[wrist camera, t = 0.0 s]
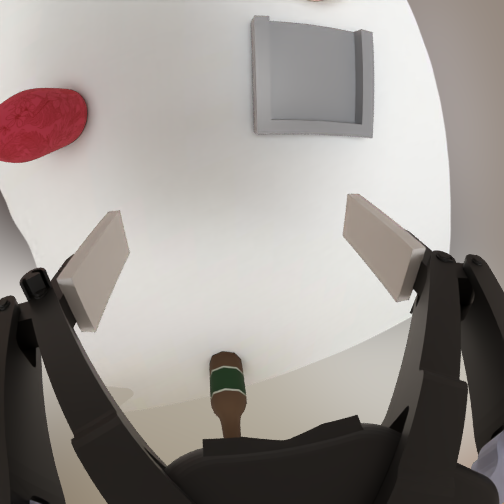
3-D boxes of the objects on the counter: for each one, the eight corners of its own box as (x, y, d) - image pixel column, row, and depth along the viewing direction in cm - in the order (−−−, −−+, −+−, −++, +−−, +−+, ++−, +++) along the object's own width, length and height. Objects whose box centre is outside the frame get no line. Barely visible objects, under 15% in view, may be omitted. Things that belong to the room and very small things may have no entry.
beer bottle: (221, 346, 60) (228, 443, 40) (247, 357, 63) (262, 447, 43) (202, 363, 63) (205, 453, 42) (228, 373, 66) (237, 458, 45)
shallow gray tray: (251, 22, 30) (254, 15, 27) (361, 35, 31) (372, 32, 28) (254, 131, 39) (257, 134, 36) (361, 135, 40) (372, 138, 37)
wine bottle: (92, 84, 31) (-61, 91, 5) (89, 144, 36) (-52, 224, 10) (44, 92, 29) (-100, 122, 3) (43, 148, 34) (-91, 224, 8)
